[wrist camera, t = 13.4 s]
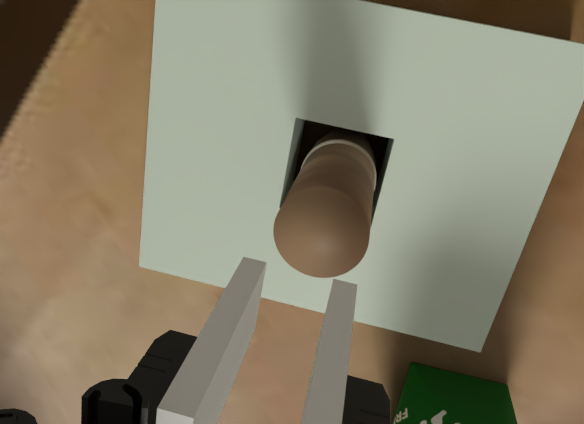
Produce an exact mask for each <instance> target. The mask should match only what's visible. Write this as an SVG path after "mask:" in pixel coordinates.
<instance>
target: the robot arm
mask: <svg viewBox="0 0 584 424" xmlns="http://www.w3.org/2000/svg"><path fill="white" fill-rule="evenodd" d="M266 264H267V262H263V261H259V260H255V259H251V258H247V257H243V258H242V260H241V262H240V264H239V265H238V267H237V269H236V271H235V272H234V274H233V276H232V278H231V279H230V281H229V283H228V285H227V286H226V288H225V290H224V292H223V294H222V295H221V297H220V299H219V301H218V302H217V304H216V306H215V308H214V309H213V311H212V313H211V315H210V316H209V318H208V320H207V322H206V323H205V325H204V327H203V329H202V330H201V332H200V334H199V336H198V337H195V336H192V335H188V334H184V333H180V332H176V331H173V330H169V331H168V332H166V333H165V334H163V335H161V336H160V337H158V338H157V339H155V340H154V342H153V343H152V345H151V346H150V347H149V349H148V350H147V352H146V354H145V356H143V358H142V359H141V361H140V362H139V363H138V366H137V367H136V368H135V369H134V371H133V372H132V374H131V375H130V376H129V378H128V379H111V380H106V381H102V382H99V383H98V384H96V385H94V386H92V387H90V388H89V389H88V390H87V391H86V392H85V393H84V395H83V396H82V417H81V424H217V423H218V420H219V418H220V415H221V413H222V410H223V408H224V405H225V403H226V401H227V398H228V396H229V393H230V391H231V388H232V386H233V383H234V381H235V378H236V376H237V374H238V371H239V369H240V366H241V364H242V361H243V359H244V356H245V354H246V351H247V349H248V347H249V344H250V342H251V339H252V337H253V334H254V331H255V325H256V320H257V314H258V309H259V303H260V298H261V292H262V286H263V281H264V275H265V270H266ZM356 294H357V284H353V283H349V282H345V281H341V280H337V279H333V283H332V287H331V291H330V295H329V299H328V303H327V307H326V311H325V315H324V320H323V324H322V328H321V332H320V336H319V340H318V344H317V348H316V353H315V358H314V362H313V367H312V372H311V377H310V381H309V386H308V391H307V396H306V400H305V405H304V410H303V415H302V419H301V424H390V420H389V419H390V400H389V398H388V396H387V394H386V392H385V390H384V387H383V385H382V384H379V383H375V382H372V381H368V380H364V379H360V378H356V377H353V376H349V375H347V373H348V364H349V356H350V347H351V338H352V329H353V320H354V312H355V303H356ZM0 424H37V422H36V419H35V417H33V416H32V415H31V414H29V413H28V412H27V411H23V410H18V409H2V410H0Z"/></svg>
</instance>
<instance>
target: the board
mask: <svg viewBox="0 0 584 424" xmlns="http://www.w3.org/2000/svg"><path fill="white" fill-rule="evenodd" d="M583 101H584V44H583V43H579V42H575V41H570V40H565V39H560V38H555V37H550V36H544V35H539V34H534V33H529V32H524V31H519V30H514V29H509V28H503V27H498V26H493V25H488V24H483V23H478V22H473V21H467V20H462V19H457V18H452V17H447V16H442V15H437V14H432V13H426V12H421V11H416V10H411V9H406V8H401V7H396V6H390V5H385V4H380V3H375V2H370V1H365V0H156V3H155V19H154V35H153V51H152V67H151V83H150V99H149V115H148V131H147V147H146V163H145V179H144V195H143V211H142V227H141V243H140V259H139V267H143V268H147V269H151V270H155V271H159V272H163V273H167V274H171V275H175V276H179V277H183V278H187V279H191V280H195V281H199V282H203V283H207V284H211V285H215V286H219V287H223V288H226V286H227V285H228V283H229V281H230V279H231V278H232V276H233V274H234V272H235V271H236V269H237V267H238V265H239V264H240V262H241V260H242V258H243V257H247V258H251V259H255V260H259V261H263V262H267V264H266V270H265V275H264V281H263V286H262V292H261V297H262V298H266V299H270V300H274V301H278V302H282V303H286V304H290V305H294V306H298V307H302V308H306V309H310V310H314V311H318V312H322V313H325V311H326V307H327V303H328V299H329V295H330V291H331V287H332V283H333V279H337V280H341V281H345V282H349V283H353V284H357V294H356V303H355V312H354V320H353V321H357V322H361V323H365V324H369V325H373V326H377V327H381V328H385V329H389V330H393V331H397V332H401V333H405V334H409V335H413V336H417V337H421V338H424V339H428V340H432V341H436V342H440V343H444V344H448V345H452V346H456V347H460V348H464V349H468V350H472V351H476V352H481V350H482V347H483V345H484V342H485V340H486V338H487V335H488V333H489V330H490V328H491V325H492V323H493V320H494V318H495V316H496V313H497V311H498V308H499V306H500V303H501V301H502V298H503V296H504V294H505V291H506V289H507V286H508V284H509V281H510V279H511V277H512V274H513V272H514V269H515V267H516V264H517V262H518V259H519V257H520V255H521V252H522V250H523V247H524V245H525V242H526V240H527V237H528V235H529V233H530V230H531V228H532V225H533V223H534V220H535V218H536V215H537V213H538V211H539V208H540V206H541V203H542V201H543V198H544V196H545V193H546V191H547V189H548V186H549V184H550V181H551V179H552V176H553V174H554V171H555V169H556V167H557V164H558V162H559V159H560V157H561V154H562V152H563V149H564V147H565V145H566V142H567V140H568V137H569V135H570V132H571V130H572V127H573V125H574V123H575V120H576V118H577V115H578V113H579V110H580V108H581V105H582V103H583ZM305 120H309V121H314V122H318V123H323V124H327V125H332V126H336V127H341V128H346V129H350V130H355V131H359V132H364V133H368V134H373V135H378V136H382V137H387V138H389V140H388V143H387V147H386V151H385V155H384V159H383V162H382V166H381V170H380V174H379V178H378V182H377V185H376V189H375V193H374V197H373V204H372V215H371V226H370V237H369V244H368V248H367V251H366V253H365V255H364V257H363V259H362V260H361V261H360V263H359V264H358V265H357V266H356V267H354V268H353V269H352V270H350V271H349V272H347V273H345V274H342V275H340V276H336V277H331V278H317V277H312V276H309V275H305V274H303V273H301V272H299V271H297V270H295V269H294V268H293V267H291V266H290V265H289V264H288V263H287V262H286V261H285V260H284V259H283V258H282V256H281V255H280V253H279V251H278V249H277V247H276V244H275V241H274V236H273V228H274V222H275V218H276V216H277V213H278V212H279V210H280V208H281V206H282V204H283V202H284V200H285V198H286V197H287V195H288V193H289V191H290V189H291V187H292V185H293V183H294V181H295V180H294V177H295V172H296V166H297V161H298V156H299V151H300V145H301V140H302V135H303V130H304V124H305Z"/></svg>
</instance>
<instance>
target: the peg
mask: <svg viewBox="0 0 584 424" xmlns="http://www.w3.org/2000/svg"><path fill="white" fill-rule="evenodd" d="M375 186H376V159H375V155H374V152H373V150H372V148H371V146H370V143H369V140H368V139H367V137H366V136H365V135H364V134H363V133H362V132H359V131H355V130H350V129H346V128H341V127H339V128H336V129H334V130H332V131H331V132H330V133H328V134H327V135H325V136H323V137H322V138H321V139H319V140H318V141H317V142H316V143H315V145H314V146H313V148H312V150H311V151H310V152H309V153H308V155H307V156H306V158H305V160H304V161H303V164H302V166H301V170H300V172H299V174H298V176H297V178H296V180H295V181H294V183H293V185H292V187H291V189H290V191H289V193H288V195H287V197H286V198H285V200H284V202H283V204H282V206H281V208H280V210H279V212H278V213H277V216H276V218H275V222H274V228H273V236H274V241H275V244H276V247H277V249H278V251H279V253H280V255H281V256H282V258H283V259H284V260H285V261H286V262H287V263H288V264H289V265H290V266H291V267H293V268H294V269H295V270H297V271H299V272H301V273H303V274H305V275H309V276H312V277H317V278H331V277H336V276H340V275H342V274H345V273H347V272H349V271H350V270H352V269H353V268H354V267H356V266H357V265H358V264H359V263H360V261H361V260H362V259H363V257H364V255H365V253H366V251H367V248H368V244H369V237H370V226H371V215H372V204H373V194H374V190H375Z"/></svg>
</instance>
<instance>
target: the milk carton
mask: <svg viewBox="0 0 584 424" xmlns="http://www.w3.org/2000/svg"><path fill="white" fill-rule="evenodd" d="M392 424H517V421H516V417H515V413H514V409H513V405H512V401H511V397H510V393H509V389H508V386H507V385H505V384H500V383H496V382H492V381H488V380H484V379H480V378H476V377H471V376H467V375H463V374H459V373H455V372H451V371H447V370H442V369H438V368H434V367H430V366H426V365H422V364H418V363H413V362H411V364H410V367H409V371H408V374H407V377H406V380H405V383H404V386H403V390H402V393H401V396H400V399H399V402H398V405H397V409H396V412H395V415H394V418H393V421H392Z"/></svg>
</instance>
